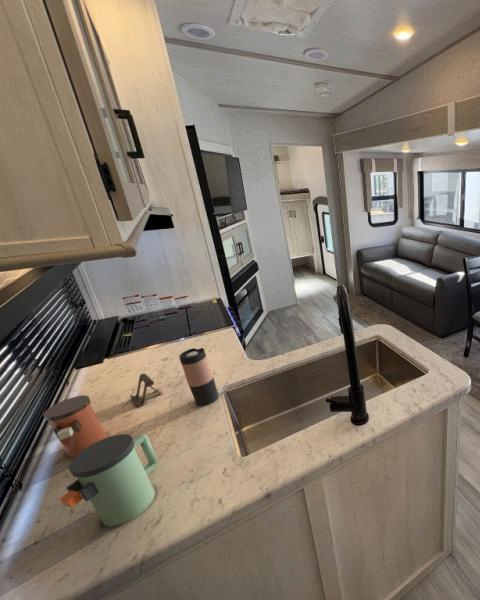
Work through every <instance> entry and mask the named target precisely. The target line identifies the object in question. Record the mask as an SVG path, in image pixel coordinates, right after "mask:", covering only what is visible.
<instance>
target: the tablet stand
mask: <svg viewBox="0 0 480 600" xmlns="http://www.w3.org/2000/svg"><path fill="white" fill-rule="evenodd" d="M142 382H143V383H144V384H143V385H144V386H143V391H142V397H141V398H140V391H141V386H142ZM154 383H155V382H154V380H153V379H152V378H151V377H150V376H149V375H148V374H147V373H141V374H139V377H138V382H137V388H136V394H135V395H133V394H129V398H130V399H131V401H133V403H134V404H135V405H136V407H138V408H141V407H143V406H144V404H145V401H146V395H147V389H148V388H150V389H152V390H153V391H155V392H156V393H157V394H158V395H162V393H161V392H160V391H159V390H158V389H156V388H155V387H154V386H153V385H154Z"/></svg>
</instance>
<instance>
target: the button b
mask: <svg viewBox="0 0 480 600" xmlns="http://www.w3.org/2000/svg"><path fill="white" fill-rule="evenodd" d="M73 433H74V431H73V429H72V427H68V428H65V429H61V430H59V432H58V433H57V436H58V437H59V439H60V440H62V439H65V438H68V437H71V436H72V435H73ZM57 436H56V437H57ZM59 439H58V440H59Z"/></svg>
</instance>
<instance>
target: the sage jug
mask: <svg viewBox="0 0 480 600" xmlns="http://www.w3.org/2000/svg"><path fill="white" fill-rule="evenodd" d="M138 446H140V447H141V449H142V451H143V453H144V456H145V458H146V460H147V462H148V463H147V464H146V465H145V466H144V465H143V463H142V461H141V459H140V457H139V454H138V453H137V451H136V448H137V447H138ZM158 463H159V459H158V457H157V455H156V452H155V450H154V448H153V446H152V443H151V441H150V439H149V437H148V435H146V434H137V435H136V436H135V437H134V438H133V437H132V435H130V434H125V433H121V434H113V435H111V436H107V438H105V439H102V440H100V441H98V442H96V443H94V444H92V445H90V446H89V447H87V448H85V449H84V450H83V451H81V452H80V453H79V454H78V455H77V456H75V457H73V458H72V459H71V461H70V463H69V464H68V471H69V473H70V474H71V475H72V477H74V478H76V480H74V481H73V482H71V483H70V484H69V485H68V486H66V487H65V489H66V490H67V493H68V492H69V491H71V490H73V491H77V492H79V493H80V494H81V496H82V498H83V500H84V501H85V502H89V501H90V503H91V504H92V506H93V508H94V510H95V512H96V513H97V515H98V516H99V518H100V520H101V522H102V523H103V525H104V526H107V527H117V526H120V525H124V524H125V523H128V522H130V521H132V520H133V519H135V518H136V517H138V516H139V515H141V514H142V513H143V512H144V511H145V510H146V509H147V508H148V507H150V505H151V503H152V502H153V500H154V498H155V495H156V494H155V493H156V492H155V489H154V486H153V483H152V482H151V480H150V478H149V476H148V475H149V474H150V473H151V472H153V471H154V470H155V469H156V468H157V467H158Z"/></svg>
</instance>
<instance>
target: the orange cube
mask: <svg viewBox="0 0 480 600" xmlns="http://www.w3.org/2000/svg"><path fill="white" fill-rule="evenodd" d="M59 500H60V502H61V504H62V505H63V506H64V507H69V508H74V507H75V506H76V505H77V504H78V503H79V502H81V501H82V500H84V498H83V497H82V495H81V494H80V493H79V492H77V491H73V490H71V491H69V492H68V491H67V492H66V493H65V494H64V495H62V496H61V497H60V498H59Z"/></svg>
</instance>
